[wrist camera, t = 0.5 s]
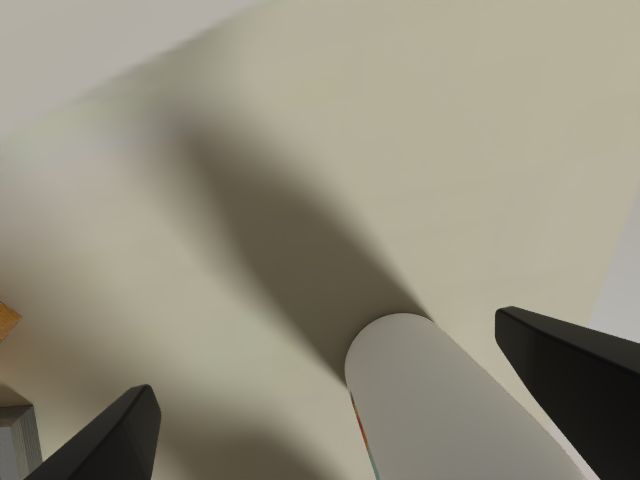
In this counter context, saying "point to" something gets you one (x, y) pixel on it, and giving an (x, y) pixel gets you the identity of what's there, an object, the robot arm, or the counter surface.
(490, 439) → the milk bottle
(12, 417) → the dark grey tray
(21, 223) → the counter surface
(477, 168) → the counter surface
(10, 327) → the block
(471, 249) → the counter surface
